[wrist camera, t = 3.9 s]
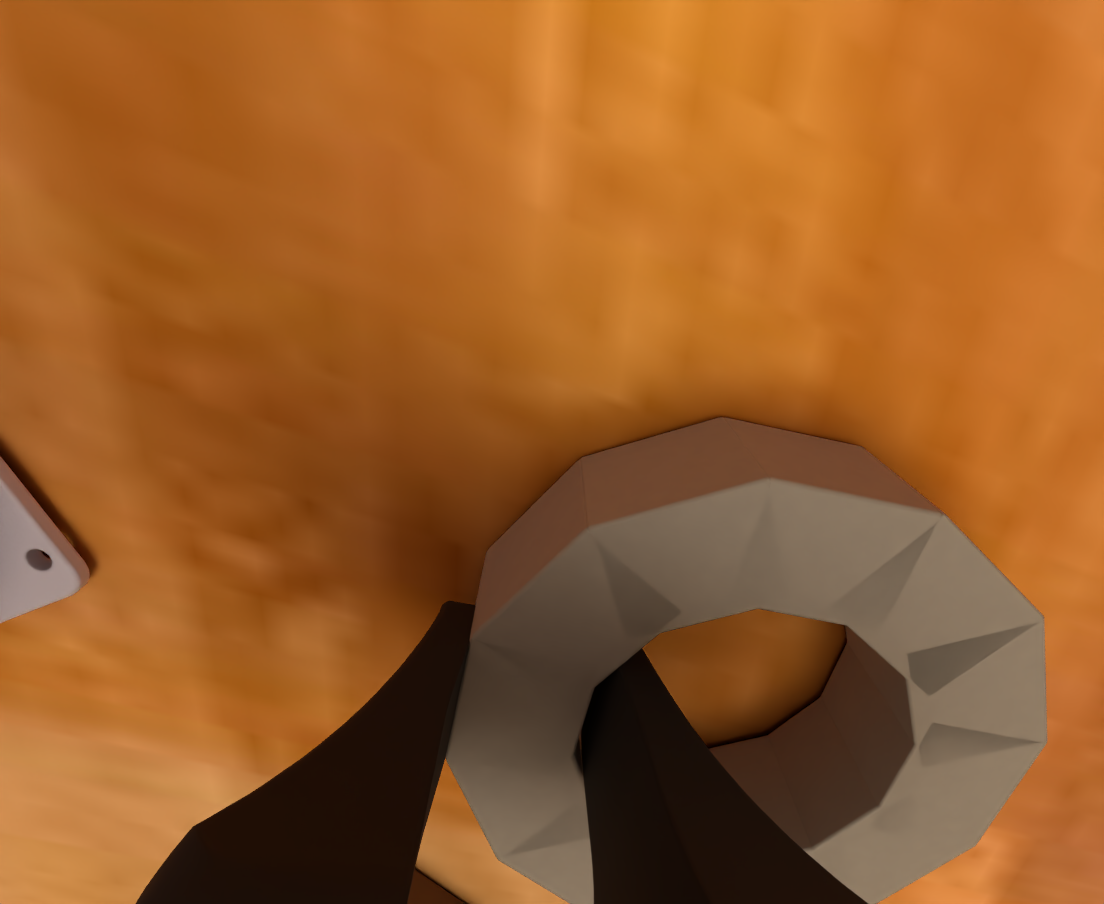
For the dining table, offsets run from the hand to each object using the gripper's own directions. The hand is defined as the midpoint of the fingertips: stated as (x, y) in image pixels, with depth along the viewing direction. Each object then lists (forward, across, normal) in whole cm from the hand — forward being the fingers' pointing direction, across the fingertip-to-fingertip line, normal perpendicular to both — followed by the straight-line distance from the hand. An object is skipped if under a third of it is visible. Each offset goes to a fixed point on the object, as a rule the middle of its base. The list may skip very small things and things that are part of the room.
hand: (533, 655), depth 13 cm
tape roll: (+1, -4, 0) cm, 4 cm away
